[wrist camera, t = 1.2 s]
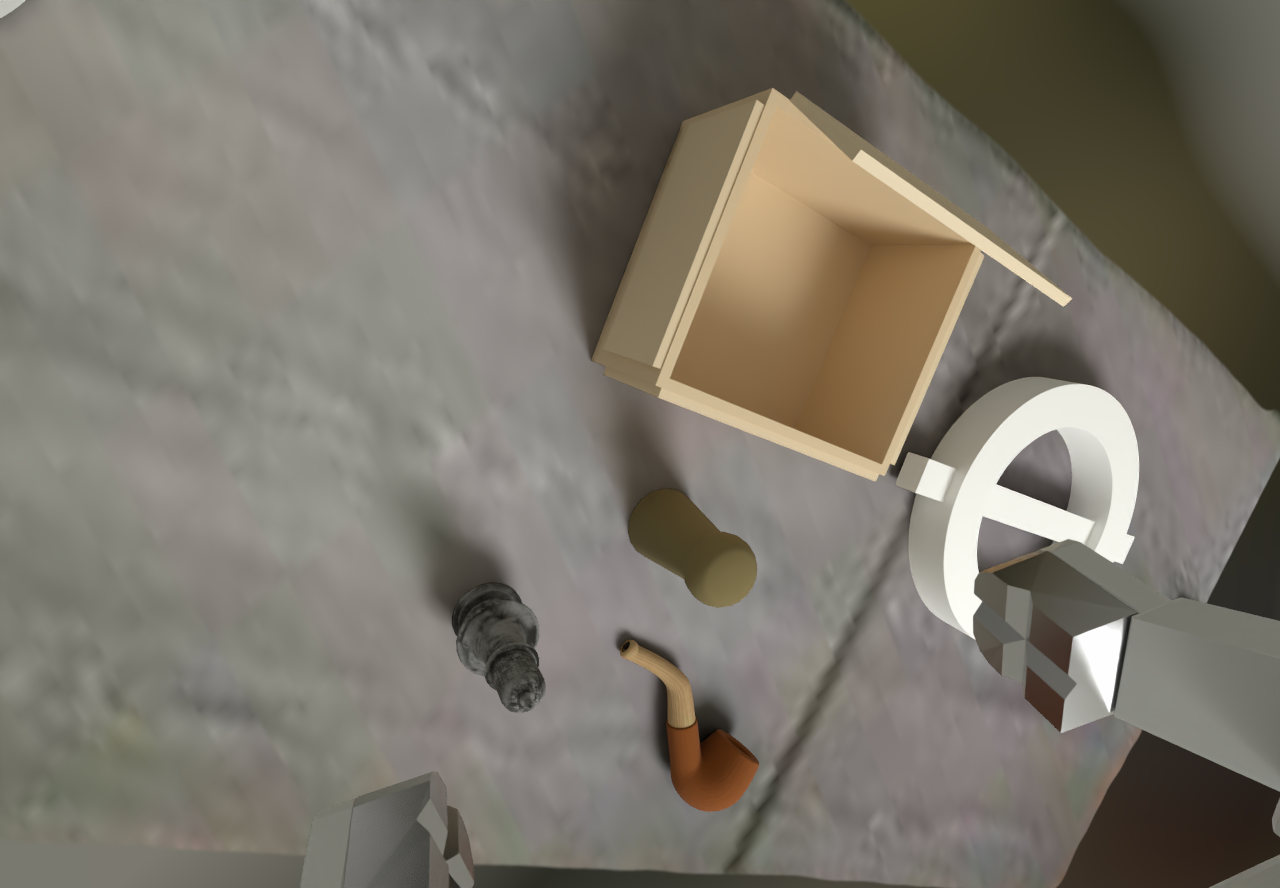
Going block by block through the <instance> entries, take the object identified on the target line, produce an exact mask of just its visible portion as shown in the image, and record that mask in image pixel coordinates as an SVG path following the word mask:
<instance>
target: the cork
mask: <svg viewBox="0 0 1280 888" xmlns="http://www.w3.org/2000/svg"><path fill="white" fill-rule="evenodd" d="M628 533H629V537H630V541H631V544H632V545H633V547H634V548H635V549H636V551H637V552H639V553H640V554H642V555H643V556H645V557H647V558H648V559H650V560H652V561H654V562H655V563H657V564H659V565H660V566H662V567H664V568H666V569H667V570H669V571H671V572H673V573H674V574H676V575H678V576H680V577H681V578H683V579H684V580H685V583H686V585H687V587H688V589H689V590H690V592H691V593H692V595H693V596H694V597H695V598H696V599H698V600H699V601H701V602H702V603H704V604H706V605H708V606H713V607H725V606H731V605H733V604H735V603H737V602H739V601H741V600H742V599H743V598H744V597H745V596H746V595H747V594H748V593H749V591H750V590H751V589H752V587H753V585H754V582H755V580H756V575H757V563H756V558H755V555H754V553H753V551H752V550H751V548H750V546H749V545H748V544H747V543H746V542H745V541H743V540H742V539H741V538H739V537H738V536H736V535H733V534H730V533H726V532H720V531H719V530H718V529H717V528H716V526H715V525H714V524H713V523H712V522H711V521H710V520H709V519H708V518H707V517H706V516H705V515H704V514H703V513H702V512H701V511H700V510H699V508H698V507H697V506H696V505H695V504H694V503H693V502H692V501H691V500H690V499H689V498H688V497H687V496H686V495H684V494H683V493H682V492H680V491H677V490H674V489H659V490H657V491H654V492H652V493H649V494H648V495H647V496H646V497H644V498H643V499H642V500H640V502H639V503H638V504H637V506H636V507H635V509H634V510H633V512H632V515H631V517H630V520H629V529H628Z"/></svg>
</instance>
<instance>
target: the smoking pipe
mask: <svg viewBox="0 0 1280 888" xmlns="http://www.w3.org/2000/svg"><path fill="white" fill-rule="evenodd" d="M627 642H629V643H630V646H629V648H628V649H623V645H624V644H625V643H627ZM625 643H624V644H623V645H622V646H621V649H620V655H621V656H622V657H623V658H625V659H627V660H630V661H632V662H634V663H636V664H638V665H640V666H642V667H644V668H646V669H648V670H649V671H651V672H652V673H654V674H655V675H656V676H658V677H659V678H660V679H661V680H662V681H663V682H664V684H665V685H666V687H667V701H668V719H667V722H666V725H667V735H668V745H669V755H670V768H671V778H672V783H673V785H674V788H675V790H676V791H677V793H678V794H679V795H680V797H681V798H682V799H683V800H684V801H685V802H686V803H688V804H689V805H690V806H692V807H694V808H696V809H699V810H702V811H708V812H710V811H719V810H723V809H725V808H728V807H730V806H731V805H733V804H734V803H736V802H737V801H738V800H739V799H740V798H741V796H742V795H743V794H744V792H745V791H746V789H747V788H748V786H749V784H750V783H751V781H752V779H753V777H754V775H755V773H756V771H757V769H758V767H759V761H758V760H757V759H756V757H755V756H754V755H753V754H752V753H751V752H750V751H749V750H748V749H747V748H746V747H745V746H744V745H742V744H741V743H740V742H739V741H738V740H736V739H735V738H734V737H732V736H731V735H729V734H728V733H726V732H725V731H723V730H720V729H717V730H716V731H715V732H714V733H713V734H711V735H710V736H709V737H708V738H706V739H705V740H704V741H703V742H702V743H700V741H699V732H698V723H697V718H696V717H695V711H694V703H693V696H692V691H691V686H690V683H689V681H688V679H687V677H686V676H685V675H684V673H682V672H681V671H680V670H679V669H678V668H677V667H675V666H674V665H673V664H671V663H670V662H668V661H667V660H665V659H664V658H662V657H660V656H659V655H657V654H655V653H653V652H651V651H649V650H647V649H645V648H643V647H641V646H639V645H638V644H637V643H636V642H635V641H634V640H627V641H626V642H625Z"/></svg>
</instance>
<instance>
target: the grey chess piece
mask: <svg viewBox="0 0 1280 888" xmlns="http://www.w3.org/2000/svg"><path fill="white" fill-rule="evenodd" d="M452 621H453V628H454V631H455V634H456V635H457V640H456V645H457V653H458V656H459V658H460V661H461V662H462V663H463V665H464V666H465V667H466V668H467V669H468V670H470V671H472V672H473V673H475V674H478V675H482V676H485V678H486V681H487V683H488V684H489V685H490V687H492V688H493V689H495V690H497V692H498V694H499V697H500V699H501V702H502V704H503V705H504V706H505V707H506V708H507V709H508V710H509V711H511V712H515V713H523V712H527V711H529V710H532V709H533V708H535V707H536V706H537V705H538V704H539V703H540V702H541V700H542V699H543V697H544V694H545V688H546V686H545V681H544V678H543V676H542V674H541V672H540V670H539V668H538V666H539V657H538V654H537V652H536V651H535V648H536V646H537V642H538V638H539V624H538V621H537V618H536V616H535V615H534V613H533V612H532V611H531V609H529V608H528V607H527V606H525V605H524V604H522V602H521V599H520V597H519V596H518V594H517V593H516V592H515V591H514V590H513V589H511V588H510V587H509V586H506V585H503V584H499V583H488V584H482V585H480V586H477V587H475V588H473V589H471V590H470V591H469V592H467V593H466V594H465V595H464V596H463V597H462V598H461V599H460V600H459V602H458V604H457V605H456V607H455V609H454V613H453V617H452Z"/></svg>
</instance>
